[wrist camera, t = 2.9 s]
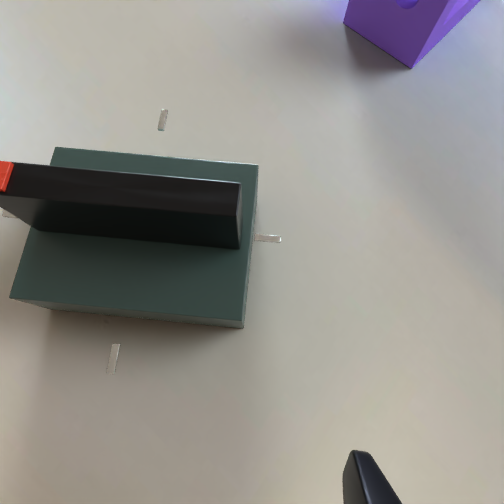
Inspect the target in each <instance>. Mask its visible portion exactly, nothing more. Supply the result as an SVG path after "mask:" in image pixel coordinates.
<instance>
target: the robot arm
mask: <svg viewBox="0 0 504 504" xmlns="http://www.w3.org/2000/svg"><path fill="white" fill-rule="evenodd" d="M343 500H344V504H402V503H401V501H400V499H399V498H398V496H397V495H396V493H395V492H394V490H393V489H392V487H391V485H390V484H389V482H388V481H387V479H386V478H385V476H384V475H383V473H382V471H381V470H380V468H379V467H378V465H377V464H376V462H375V461H374V459H373V457H372V456H371V455H370V454H369V453H368V452H364V451H358V450H352V451H351V452H350V454H349V457H348V460H347V463H346V465H345V468H344V471H343Z"/></svg>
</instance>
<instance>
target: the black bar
mask: <svg viewBox="0 0 504 504" xmlns="http://www.w3.org/2000/svg"><path fill="white" fill-rule="evenodd" d="M0 207H1V208H3V209H4V210H6V211H8V212H9V213H11V214H12V215H14V216H16V217H17V218H19V219H20V220H22V221H24V222H25V223H27V224H28V225H30V226H32V227H33V228H35V229H36V230H38V231H48V232H58V233H69V234H79V235H90V236H100V237H111V238H122V239H132V240H143V241H153V242H164V243H174V244H185V245H195V246H206V247H216V248H227V249H237V250H239V249H240V246H241V237H242V228H243V211H242V190H241V183H237V182H226V181H215V180H204V179H193V178H182V177H171V176H160V175H149V174H138V173H127V172H116V171H104V170H93V169H82V168H71V167H60V166H49V165H38V164H27V163H16V162H5V161H0Z"/></svg>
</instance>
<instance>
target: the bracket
mask: <svg viewBox="0 0 504 504" xmlns="http://www.w3.org/2000/svg"><path fill="white" fill-rule="evenodd" d="M479 1H480V0H349V3H348V6H347V10H346V14H345V17H344V21H343V23H344V24H345V25H347V26H348V27H350V28H351V29H353V30H354V31H356V32H357V33H359V34H360V35H362V36H363V37H365V38H366V39H368V40H369V41H371V42H372V43H374V44H375V45H377V46H378V47H380V48H381V49H383V50H384V51H386V52H387V53H389V54H390V55H392V56H393V57H394V58H396V59H397V60H399V61H400V62H402V63H403V64H405V65H406V66H408V67H409V68H411V69H412V68H413V67H414V66H415V65H416V64H417V63H418V62H419V61H420V60H421V59H422V58H423V57H424V56H425V55H426V54H427V53H428V52H429V51H430V50H431V49H432V48H433V47H434V46H435V45H436V44H437V43H438V42H439V41H440V40H441V39H442V38H443V37H444V36H445V35H446V34H447V33H448V32H449V31H450V30H451V29H452V28H453V27H454V26H455V25H456V24H457V23H458V22H459V21H460V20H461V19H462V18H463V17H464V16H465V15H466V14H467V13H468V12H469V11H470V10H471V9H472V8H473V7H474V6H475V5H476V4H477V3H478V2H479Z"/></svg>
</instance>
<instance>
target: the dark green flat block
mask: <svg viewBox="0 0 504 504" xmlns="http://www.w3.org/2000/svg"><path fill="white" fill-rule="evenodd" d="M167 114H168V110H163V109H162V110H161V115H160V120H159V125H158V130H160V131H164V129H165V124H166V119H167ZM50 166H60V167H71V168H82V169H93V170H104V171H116V172H127V173H138V174H149V175H160V176H171V177H182V178H193V179H204V180H215V181H226V182H237V183H241V190H242V211H243V228H242V237H241V246H240V249H239V250H237V249H227V248H216V247H206V246H195V245H185V244H174V243H164V242H153V241H143V240H132V239H122V238H111V237H100V236H90V235H79V234H69V233H58V232H48V231H38V230H36V229H35V228H33V227H32V226H31V228H30V231H29V234H28V238H27V241H26V244H25V247H24V251H23V254H22V257H21V260H20V264H19V267H18V270H17V273H16V277H15V280H14V283H13V286H12V290H11V293H10V296H9V298H11V299H15V300H19V301H22V302H26V303H30V304H34V305H37V306H41V307H45V308H48V309H54V310H64V311H74V312H84V313H94V314H104V315H114V316H124V317H134V318H144V319H154V320H164V321H174V322H183V323H193V324H203V325H213V326H223V327H233V328H244V319H245V309H246V299H247V289H248V280H249V270H250V260H251V251H252V241H253V231H254V222H255V212H256V202H257V187H258V165H254V164H243V163H231V162H220V161H209V160H198V159H187V158H175V157H164V156H153V155H142V154H130V153H119V152H108V151H97V150H86V149H74V148H63V147H55V150H54V153H53V156H52V159H51V163H50ZM2 216H3V217H8V218H17V217H16V216H14V215H12V214H11V213H9V212H8V211H6V210H4V212H3V215H2ZM254 241H263V242H274V243H280V241H281V236H275V235H264V234H255V238H254ZM120 345H121V344H114V343H113V344H112V348H111V353H110V358H109V363H108V368H107V372H106V373H107V374H115V370H116V365H117V360H118V355H119V350H120Z"/></svg>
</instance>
